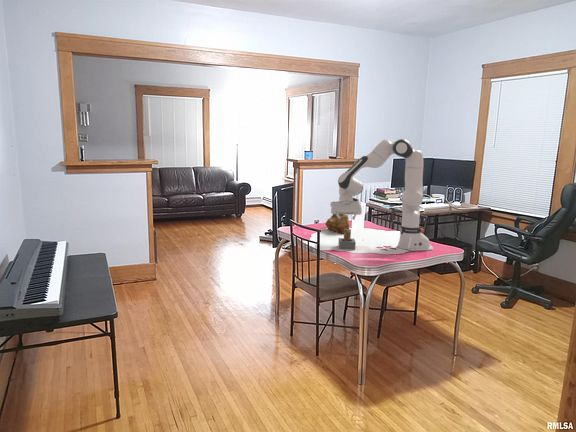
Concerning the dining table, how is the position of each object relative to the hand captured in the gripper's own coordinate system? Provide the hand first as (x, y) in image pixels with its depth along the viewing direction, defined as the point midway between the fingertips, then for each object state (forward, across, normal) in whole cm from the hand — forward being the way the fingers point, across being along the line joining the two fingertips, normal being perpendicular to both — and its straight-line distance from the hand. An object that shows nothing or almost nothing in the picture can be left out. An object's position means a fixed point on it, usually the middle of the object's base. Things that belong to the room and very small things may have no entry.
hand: (346, 219), depth 282 cm
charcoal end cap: (+19, 0, +5) cm, 20 cm away
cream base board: (+20, +5, +6) cm, 21 cm away
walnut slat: (+19, 0, +5) cm, 20 cm away
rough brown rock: (-19, -3, +45) cm, 49 cm away
